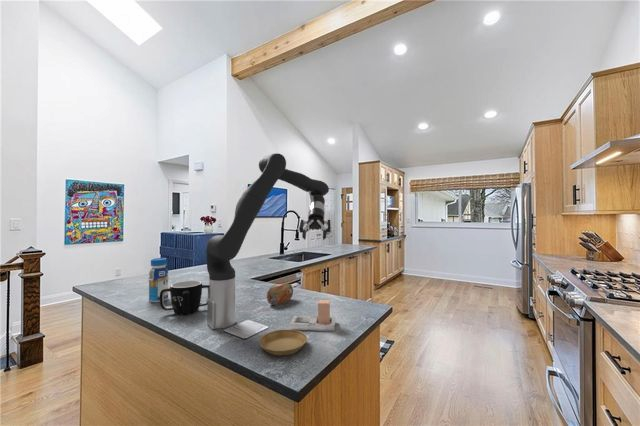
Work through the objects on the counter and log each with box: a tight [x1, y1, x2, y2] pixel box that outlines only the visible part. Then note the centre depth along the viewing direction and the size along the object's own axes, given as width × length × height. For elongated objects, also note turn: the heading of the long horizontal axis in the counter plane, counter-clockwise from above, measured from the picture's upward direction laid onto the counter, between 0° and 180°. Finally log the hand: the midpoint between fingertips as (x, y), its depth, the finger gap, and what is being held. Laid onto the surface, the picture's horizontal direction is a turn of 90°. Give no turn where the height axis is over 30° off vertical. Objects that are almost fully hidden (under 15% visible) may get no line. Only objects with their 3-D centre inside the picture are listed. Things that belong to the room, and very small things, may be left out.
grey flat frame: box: [289, 315, 336, 332], centre depth 100 cm, size 16×8×2 cm, turn 85°
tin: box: [266, 282, 294, 307], centre depth 127 cm, size 15×3×8 cm, turn 143°
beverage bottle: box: [148, 257, 170, 303], centre depth 132 cm, size 8×8×20 cm
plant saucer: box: [258, 329, 308, 357], centre depth 84 cm, size 15×15×3 cm
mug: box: [159, 280, 209, 316], centre depth 115 cm, size 16×16×12 cm
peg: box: [317, 299, 331, 324], centre depth 100 cm, size 4×4×9 cm
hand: (314, 238), depth 119 cm, fingers open, 8 cm apart
